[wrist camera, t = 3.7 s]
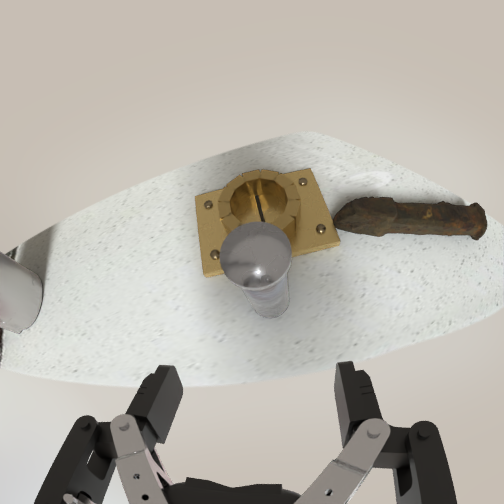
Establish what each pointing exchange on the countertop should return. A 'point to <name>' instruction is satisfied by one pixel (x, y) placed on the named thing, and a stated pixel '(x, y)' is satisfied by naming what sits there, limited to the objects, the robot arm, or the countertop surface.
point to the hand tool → (410, 218)
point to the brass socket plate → (265, 213)
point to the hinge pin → (259, 265)
